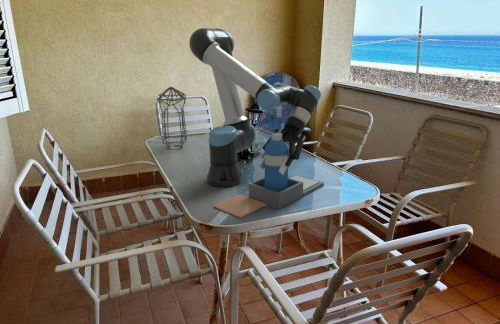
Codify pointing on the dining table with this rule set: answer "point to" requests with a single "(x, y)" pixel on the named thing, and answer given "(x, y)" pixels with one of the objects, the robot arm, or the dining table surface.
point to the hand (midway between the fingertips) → (270, 170)
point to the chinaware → (258, 144)
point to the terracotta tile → (240, 205)
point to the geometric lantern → (177, 112)
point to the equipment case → (295, 190)
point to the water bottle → (275, 163)
